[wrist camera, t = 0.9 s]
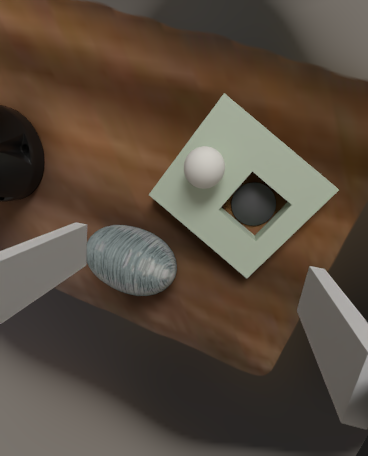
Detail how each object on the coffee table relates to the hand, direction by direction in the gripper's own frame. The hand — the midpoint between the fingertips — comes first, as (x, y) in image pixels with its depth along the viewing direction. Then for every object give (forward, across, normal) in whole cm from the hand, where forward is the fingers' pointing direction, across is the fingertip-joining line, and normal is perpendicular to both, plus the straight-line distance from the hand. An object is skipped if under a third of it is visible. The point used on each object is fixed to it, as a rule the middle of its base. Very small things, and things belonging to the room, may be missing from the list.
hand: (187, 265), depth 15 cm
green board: (+24, +2, +2) cm, 24 cm away
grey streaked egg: (+24, -11, -10) cm, 28 cm away
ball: (+18, -2, +5) cm, 19 cm away
